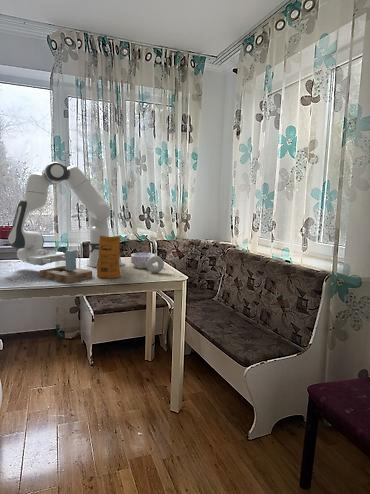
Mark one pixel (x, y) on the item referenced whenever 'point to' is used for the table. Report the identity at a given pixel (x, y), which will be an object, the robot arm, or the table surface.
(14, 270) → the table surface
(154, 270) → the donut
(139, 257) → the paper bowls
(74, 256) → the keyhole peg
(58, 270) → the keyhole board
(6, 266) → the table surface
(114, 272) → the coffee package
